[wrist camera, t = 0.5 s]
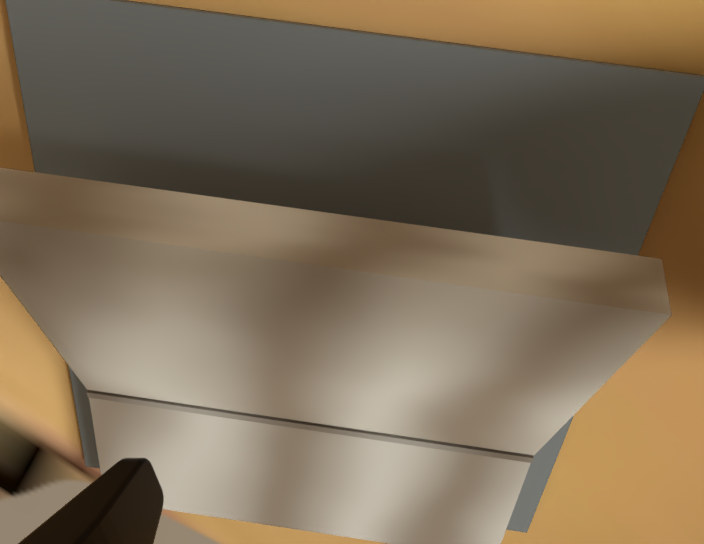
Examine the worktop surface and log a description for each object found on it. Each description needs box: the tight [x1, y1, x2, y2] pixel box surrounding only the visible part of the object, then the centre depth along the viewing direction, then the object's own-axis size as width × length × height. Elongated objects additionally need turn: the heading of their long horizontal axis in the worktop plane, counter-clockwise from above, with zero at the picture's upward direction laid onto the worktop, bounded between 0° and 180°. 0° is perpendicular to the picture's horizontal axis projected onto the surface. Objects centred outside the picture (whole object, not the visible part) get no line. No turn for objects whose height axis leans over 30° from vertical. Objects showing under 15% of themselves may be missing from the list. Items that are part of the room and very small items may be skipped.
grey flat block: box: [87, 390, 534, 544], centre depth 24 cm, size 16×6×2 cm, turn 84°
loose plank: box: [0, 167, 672, 455], centre depth 18 cm, size 16×10×2 cm, turn 84°
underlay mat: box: [5, 0, 704, 533], centre depth 22 cm, size 19×19×1 cm
